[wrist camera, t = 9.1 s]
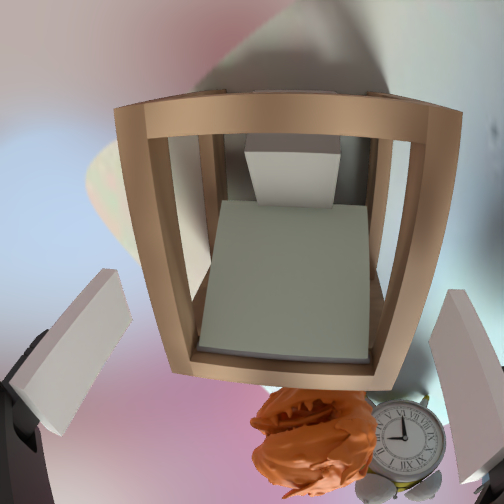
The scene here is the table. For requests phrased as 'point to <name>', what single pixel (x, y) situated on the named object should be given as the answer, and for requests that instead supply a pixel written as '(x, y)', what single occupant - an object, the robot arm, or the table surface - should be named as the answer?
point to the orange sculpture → (314, 439)
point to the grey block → (293, 166)
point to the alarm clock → (403, 452)
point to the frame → (215, 190)
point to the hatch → (289, 284)
